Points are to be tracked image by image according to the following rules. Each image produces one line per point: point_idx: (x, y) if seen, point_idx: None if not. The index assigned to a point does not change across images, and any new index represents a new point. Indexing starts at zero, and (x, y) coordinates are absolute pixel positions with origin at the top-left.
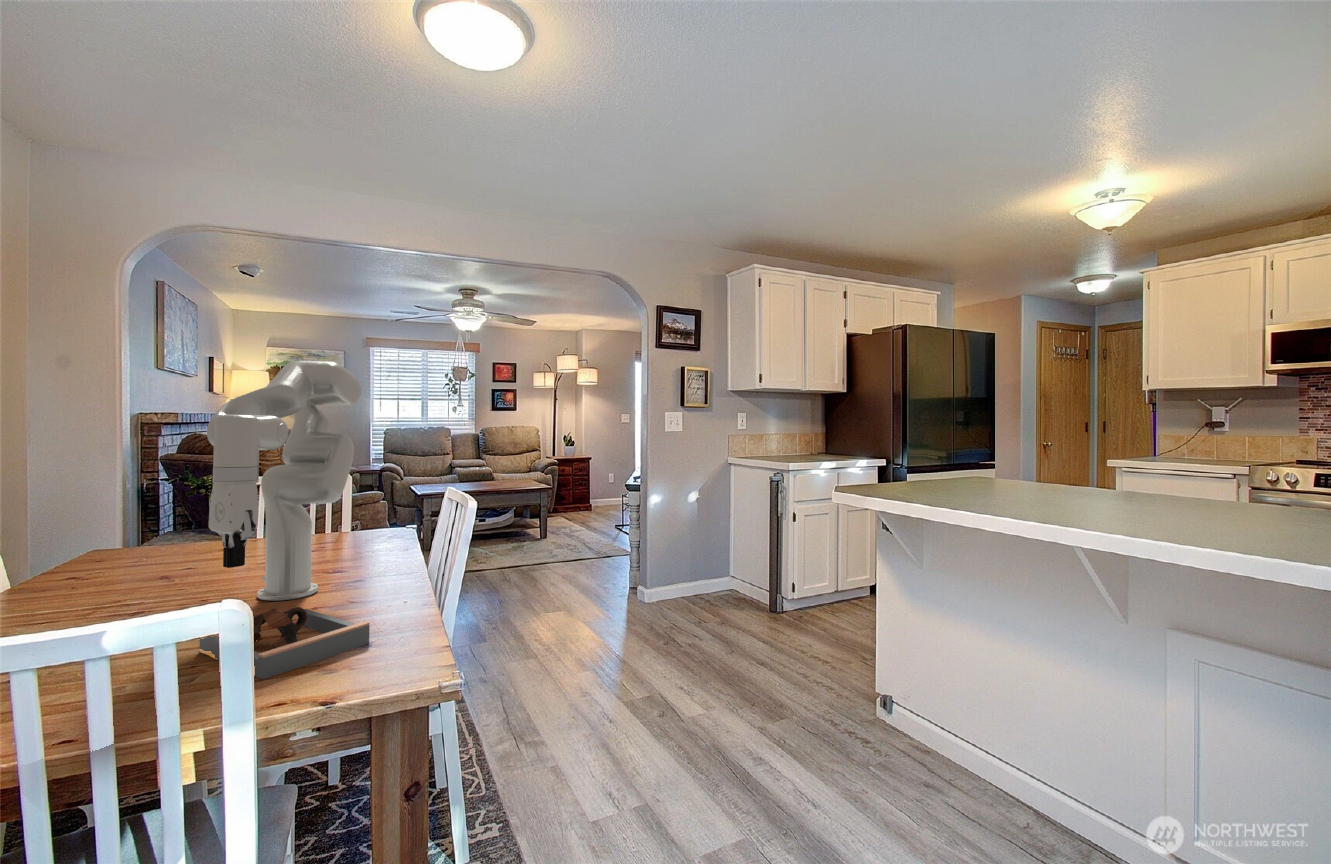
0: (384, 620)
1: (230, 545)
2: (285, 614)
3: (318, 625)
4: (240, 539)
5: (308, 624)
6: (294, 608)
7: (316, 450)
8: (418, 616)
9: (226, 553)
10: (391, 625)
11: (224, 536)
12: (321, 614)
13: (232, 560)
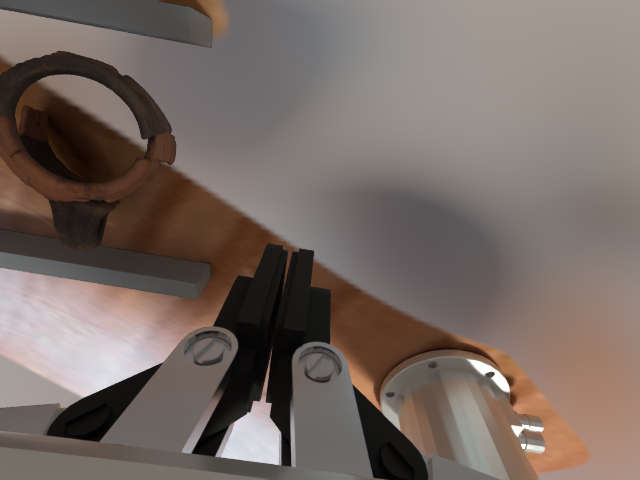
0: (89, 339)
1: (215, 350)
2: (33, 187)
3: (115, 256)
4: (57, 414)
5: (161, 261)
6: (59, 229)
7: None
8: (63, 371)
9: (259, 293)
10: (47, 323)
11: (307, 437)
12: (115, 283)
13: (247, 282)
